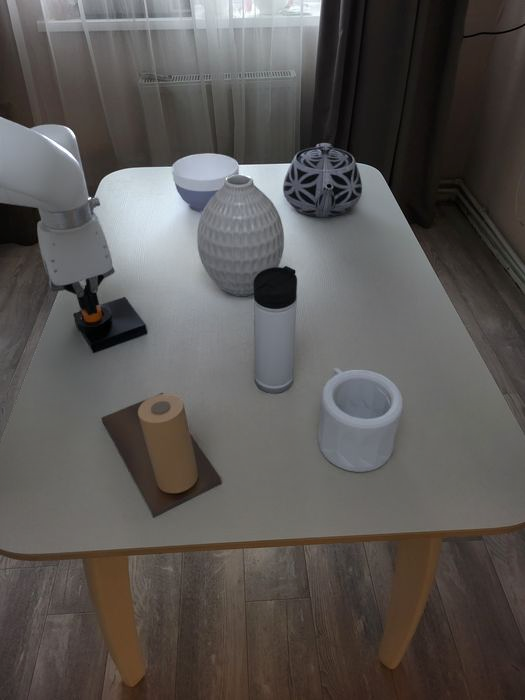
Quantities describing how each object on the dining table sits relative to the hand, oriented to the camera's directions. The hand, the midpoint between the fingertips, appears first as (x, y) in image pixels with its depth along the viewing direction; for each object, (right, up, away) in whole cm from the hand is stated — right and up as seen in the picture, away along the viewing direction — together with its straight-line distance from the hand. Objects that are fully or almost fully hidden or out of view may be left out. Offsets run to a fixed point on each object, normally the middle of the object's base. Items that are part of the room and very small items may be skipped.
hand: (90, 309), depth 96 cm
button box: (+2, -3, +5) cm, 6 cm away
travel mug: (+32, -12, -5) cm, 34 cm away
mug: (+43, -20, -15) cm, 49 cm away
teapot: (+44, +28, +41) cm, 66 cm away
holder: (+15, -21, -17) cm, 31 cm away
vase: (+26, +6, +15) cm, 30 cm away
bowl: (+16, +29, +42) cm, 54 cm away
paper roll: (+16, -18, -23) cm, 33 cm away
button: (0, -1, +1) cm, 2 cm away
